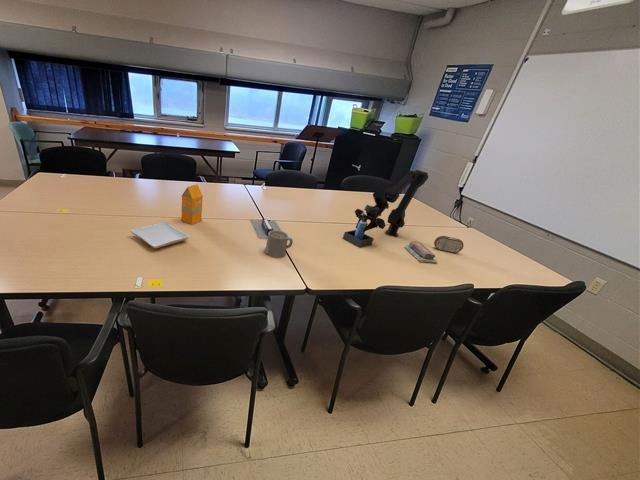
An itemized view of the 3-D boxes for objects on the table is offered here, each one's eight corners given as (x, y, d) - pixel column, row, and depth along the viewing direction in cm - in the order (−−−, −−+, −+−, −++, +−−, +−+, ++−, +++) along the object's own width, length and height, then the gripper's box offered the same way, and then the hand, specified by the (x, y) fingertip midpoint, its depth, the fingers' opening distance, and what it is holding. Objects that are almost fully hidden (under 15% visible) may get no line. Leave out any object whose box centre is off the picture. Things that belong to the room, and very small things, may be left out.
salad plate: (190, 241, 158) (190, 235, 157) (154, 252, 145) (154, 246, 143) (165, 227, 170) (165, 221, 168) (129, 236, 156) (129, 229, 154)
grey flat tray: (259, 238, 172) (260, 230, 170) (251, 220, 192) (252, 213, 190) (284, 239, 175) (286, 232, 172) (274, 221, 195) (275, 215, 193)
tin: (458, 252, 187) (465, 240, 182) (459, 255, 184) (467, 242, 180) (431, 246, 190) (437, 233, 186) (432, 248, 188) (438, 235, 183)
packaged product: (407, 239, 182) (423, 241, 183) (404, 247, 185) (420, 248, 185) (423, 254, 167) (441, 255, 168) (419, 262, 169) (436, 263, 170)
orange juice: (201, 220, 184) (203, 186, 173) (191, 224, 177) (192, 188, 166) (191, 216, 187) (192, 182, 176) (181, 220, 180) (181, 185, 169)
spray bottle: (356, 238, 186) (364, 215, 179) (363, 241, 183) (371, 219, 176) (351, 239, 184) (359, 216, 176) (357, 242, 181) (365, 219, 173)
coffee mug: (267, 256, 154) (270, 238, 149) (263, 247, 162) (266, 229, 157) (293, 258, 156) (297, 239, 151) (288, 249, 165) (292, 231, 159)
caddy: (354, 235, 191) (356, 229, 189) (371, 244, 182) (373, 238, 180) (342, 238, 185) (344, 231, 183) (359, 247, 177) (362, 240, 175)
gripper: (361, 194, 179) (343, 215, 179) (390, 206, 166) (370, 228, 167) (366, 206, 187) (348, 226, 188) (393, 218, 175) (374, 239, 175)
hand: (359, 229), depth 179 cm, fingers closed on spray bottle, 5 cm apart
